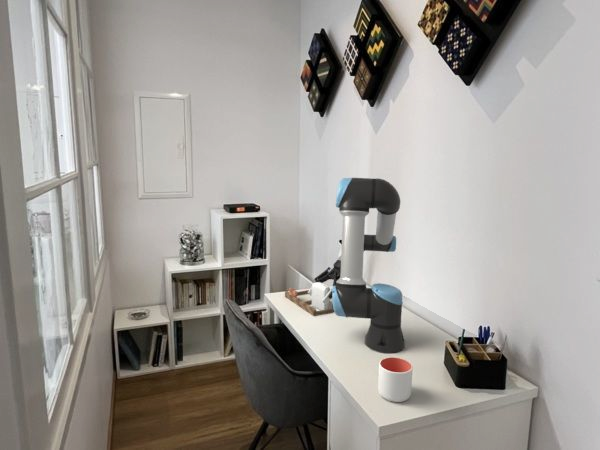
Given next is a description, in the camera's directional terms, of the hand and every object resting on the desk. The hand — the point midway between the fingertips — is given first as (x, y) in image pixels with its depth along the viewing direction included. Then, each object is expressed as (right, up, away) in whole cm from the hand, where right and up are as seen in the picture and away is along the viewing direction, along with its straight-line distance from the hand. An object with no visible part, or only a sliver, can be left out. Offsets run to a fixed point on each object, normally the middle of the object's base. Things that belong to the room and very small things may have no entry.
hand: (316, 298), depth 204 cm
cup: (+21, -18, -70) cm, 76 cm away
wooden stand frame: (-1, -4, +8) cm, 9 cm away
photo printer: (+2, -5, +2) cm, 6 cm away
